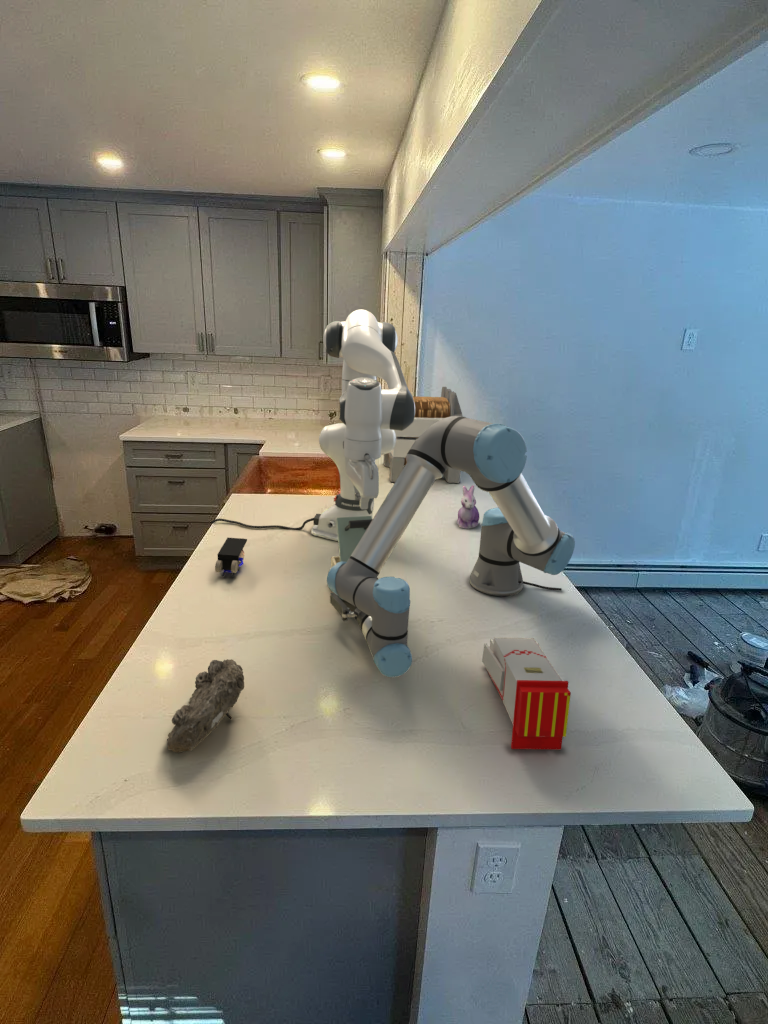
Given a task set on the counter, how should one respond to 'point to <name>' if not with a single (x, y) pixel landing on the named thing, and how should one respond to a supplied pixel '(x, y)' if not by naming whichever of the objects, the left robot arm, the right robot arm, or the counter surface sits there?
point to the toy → (529, 692)
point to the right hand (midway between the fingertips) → (356, 581)
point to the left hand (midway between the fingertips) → (360, 504)
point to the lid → (350, 534)
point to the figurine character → (230, 556)
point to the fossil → (206, 705)
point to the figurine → (468, 510)
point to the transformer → (425, 416)
